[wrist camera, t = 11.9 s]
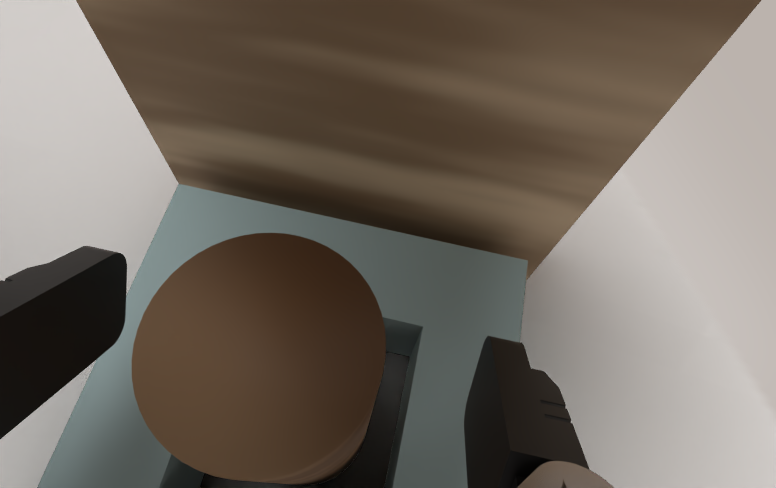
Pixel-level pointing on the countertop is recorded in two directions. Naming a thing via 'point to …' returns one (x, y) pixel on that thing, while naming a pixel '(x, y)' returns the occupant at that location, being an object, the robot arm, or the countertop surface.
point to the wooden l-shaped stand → (412, 102)
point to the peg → (261, 360)
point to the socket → (402, 330)
